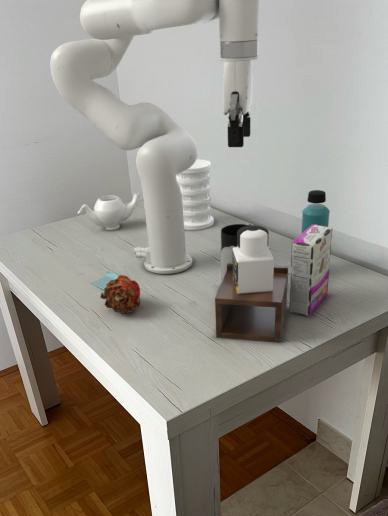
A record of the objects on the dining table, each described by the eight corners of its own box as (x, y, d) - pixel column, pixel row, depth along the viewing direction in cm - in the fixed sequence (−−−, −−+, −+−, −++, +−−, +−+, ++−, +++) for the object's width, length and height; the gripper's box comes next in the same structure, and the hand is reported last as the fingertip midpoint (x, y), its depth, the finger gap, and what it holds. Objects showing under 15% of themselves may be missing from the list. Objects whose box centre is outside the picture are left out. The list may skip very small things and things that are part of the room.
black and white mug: (214, 296, 127) (212, 235, 119) (233, 271, 138) (232, 213, 130) (250, 301, 124) (251, 238, 116) (267, 275, 135) (268, 216, 127)
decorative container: (206, 231, 163) (203, 170, 153) (170, 228, 166) (166, 168, 157) (218, 218, 172) (217, 159, 162) (184, 215, 175) (181, 158, 166)
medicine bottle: (232, 279, 114) (231, 223, 107) (266, 276, 114) (267, 220, 108) (237, 294, 108) (236, 236, 101) (273, 291, 108) (275, 233, 102)
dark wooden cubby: (216, 337, 112) (214, 292, 106) (228, 305, 123) (227, 263, 118) (280, 342, 109) (282, 296, 103) (286, 309, 120) (288, 266, 115)
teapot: (77, 228, 170) (72, 199, 165) (138, 217, 176) (135, 188, 171) (84, 238, 163) (79, 208, 158) (147, 226, 169) (144, 196, 164)
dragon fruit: (127, 329, 119) (117, 312, 130) (155, 301, 119) (143, 286, 130) (99, 304, 115) (91, 288, 126) (127, 275, 115) (117, 262, 125)
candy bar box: (307, 291, 127) (311, 223, 118) (327, 295, 124) (334, 226, 116) (287, 312, 119) (290, 241, 110) (309, 317, 117) (314, 245, 108)
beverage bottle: (325, 277, 132) (332, 196, 122) (297, 276, 134) (302, 195, 123) (325, 266, 138) (332, 187, 127) (298, 265, 139) (303, 187, 128)
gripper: (228, 48, 116) (229, 133, 125) (211, 56, 102) (214, 151, 111) (263, 46, 114) (262, 132, 123) (251, 54, 100) (251, 151, 109)
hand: (239, 141), depth 117 cm, fingers open, 9 cm apart
